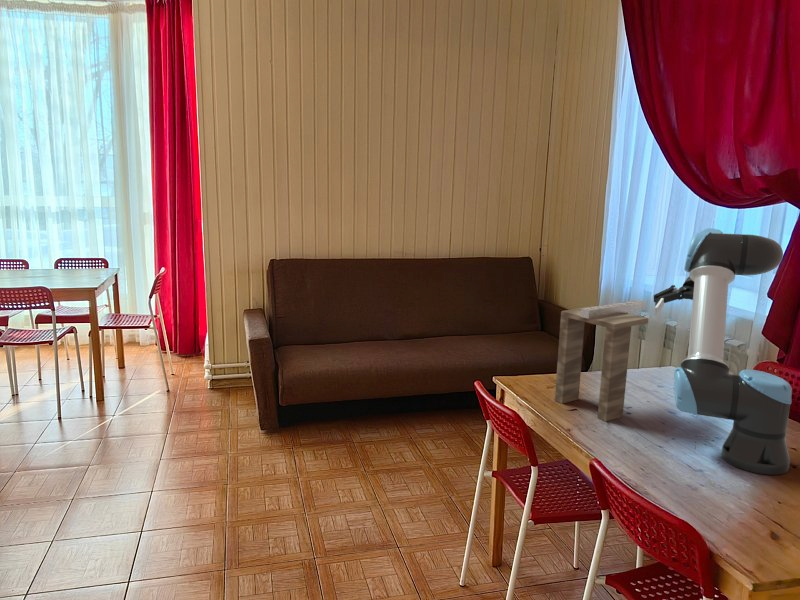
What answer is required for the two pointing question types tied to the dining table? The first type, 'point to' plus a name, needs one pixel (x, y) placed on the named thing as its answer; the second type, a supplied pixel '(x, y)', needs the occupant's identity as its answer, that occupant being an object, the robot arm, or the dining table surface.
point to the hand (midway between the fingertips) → (677, 314)
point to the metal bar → (613, 309)
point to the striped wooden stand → (611, 365)
